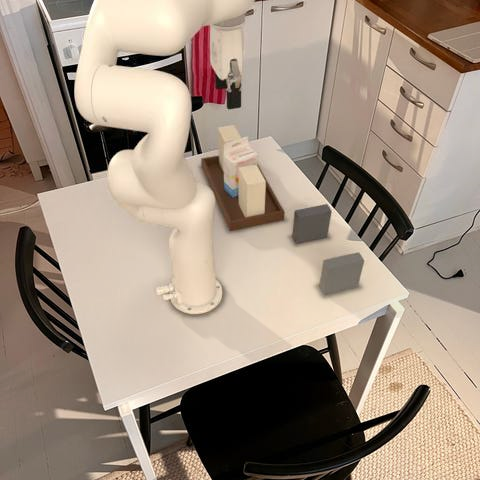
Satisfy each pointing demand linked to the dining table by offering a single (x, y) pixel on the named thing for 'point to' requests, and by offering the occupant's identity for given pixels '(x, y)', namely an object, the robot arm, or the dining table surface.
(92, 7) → the robot arm
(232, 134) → the white books
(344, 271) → the gray bookends
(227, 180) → the ink box
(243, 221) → the book tray
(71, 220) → the dining table surface
